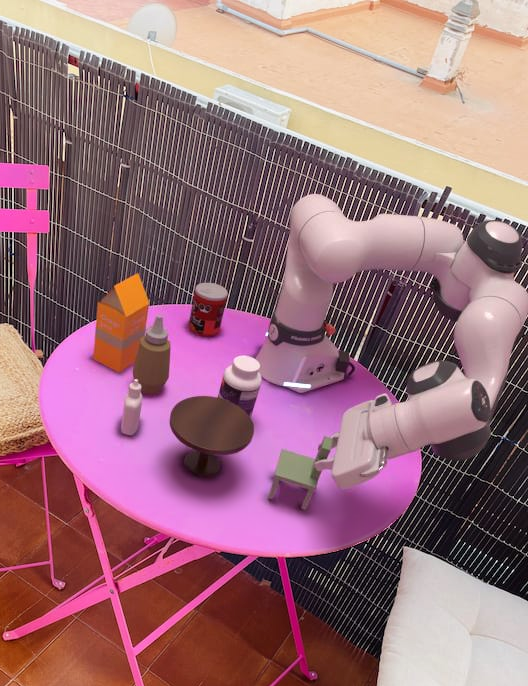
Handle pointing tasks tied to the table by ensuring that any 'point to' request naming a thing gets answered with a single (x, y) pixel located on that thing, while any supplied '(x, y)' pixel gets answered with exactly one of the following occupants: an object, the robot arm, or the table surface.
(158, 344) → the squeeze bottle
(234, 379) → the pill bottle
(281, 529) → the table surface
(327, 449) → the chair
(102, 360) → the orange juice
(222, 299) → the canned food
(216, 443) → the little table
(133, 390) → the eye dropper bottle
